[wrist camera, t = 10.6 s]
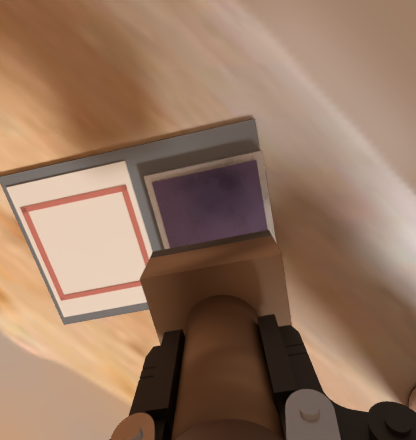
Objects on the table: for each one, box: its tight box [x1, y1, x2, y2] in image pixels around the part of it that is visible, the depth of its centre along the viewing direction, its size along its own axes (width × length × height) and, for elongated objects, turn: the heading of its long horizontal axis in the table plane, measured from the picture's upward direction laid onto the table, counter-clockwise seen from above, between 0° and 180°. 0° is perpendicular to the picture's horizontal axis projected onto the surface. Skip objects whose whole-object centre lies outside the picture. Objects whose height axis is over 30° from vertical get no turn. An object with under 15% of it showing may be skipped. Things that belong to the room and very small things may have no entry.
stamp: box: [140, 230, 292, 440], centre depth 10 cm, size 6×6×12 cm
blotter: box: [0, 119, 260, 325], centre depth 27 cm, size 23×16×1 cm
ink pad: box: [144, 149, 276, 249], centre depth 26 cm, size 10×11×2 cm
